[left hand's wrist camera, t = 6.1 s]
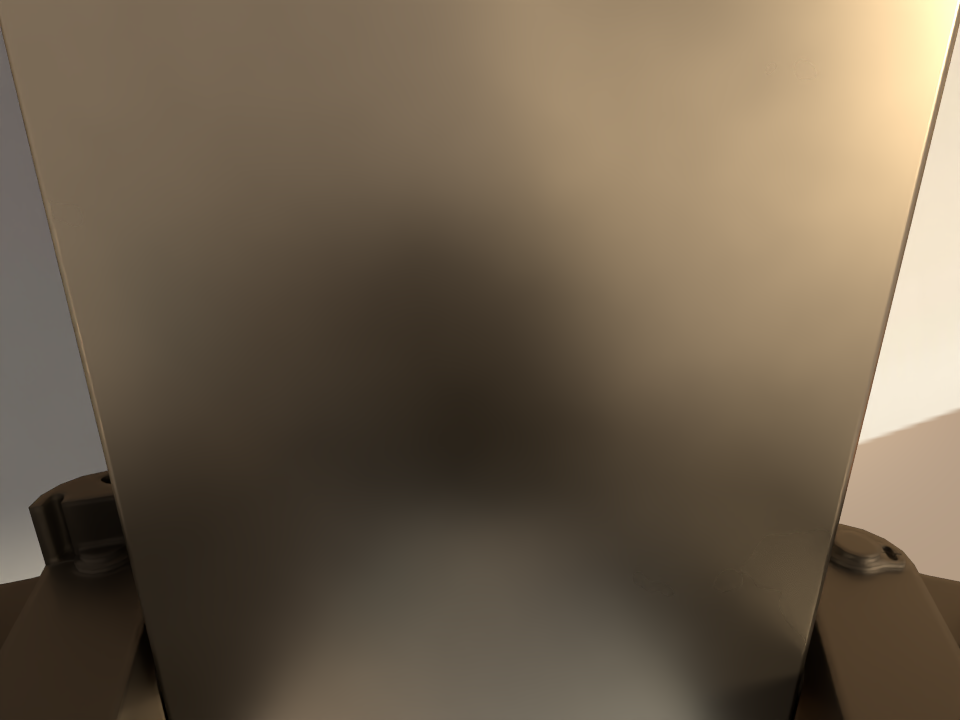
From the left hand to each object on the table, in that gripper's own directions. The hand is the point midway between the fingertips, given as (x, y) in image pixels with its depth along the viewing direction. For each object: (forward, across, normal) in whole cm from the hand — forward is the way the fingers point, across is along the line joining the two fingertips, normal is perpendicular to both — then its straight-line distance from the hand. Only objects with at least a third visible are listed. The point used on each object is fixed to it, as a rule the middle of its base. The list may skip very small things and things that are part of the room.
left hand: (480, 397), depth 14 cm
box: (0, 0, -11) cm, 11 cm away
